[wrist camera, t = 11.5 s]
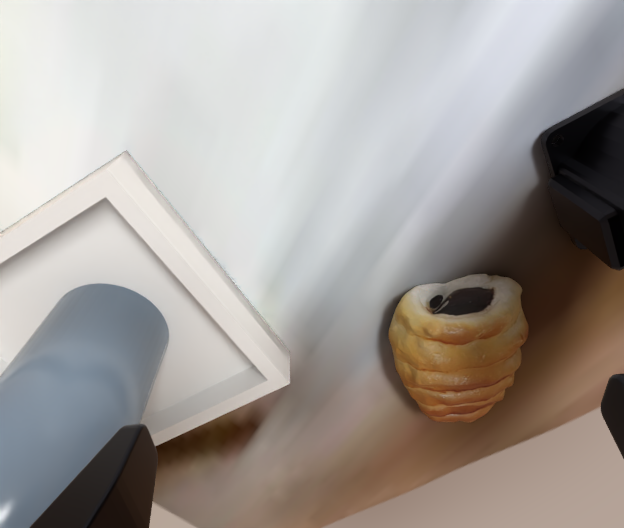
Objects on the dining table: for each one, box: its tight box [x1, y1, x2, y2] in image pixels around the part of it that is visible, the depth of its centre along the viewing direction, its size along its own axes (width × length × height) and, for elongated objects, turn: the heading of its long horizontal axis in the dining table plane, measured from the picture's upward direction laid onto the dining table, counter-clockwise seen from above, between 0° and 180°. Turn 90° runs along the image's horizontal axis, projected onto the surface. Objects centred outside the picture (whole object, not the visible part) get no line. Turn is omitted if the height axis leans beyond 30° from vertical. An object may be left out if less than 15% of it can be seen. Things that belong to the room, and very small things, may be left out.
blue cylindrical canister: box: [0, 283, 169, 528], centre depth 17 cm, size 6×6×14 cm
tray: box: [0, 150, 290, 446], centre depth 22 cm, size 13×13×2 cm
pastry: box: [389, 274, 528, 423], centre depth 24 cm, size 9×7×4 cm
